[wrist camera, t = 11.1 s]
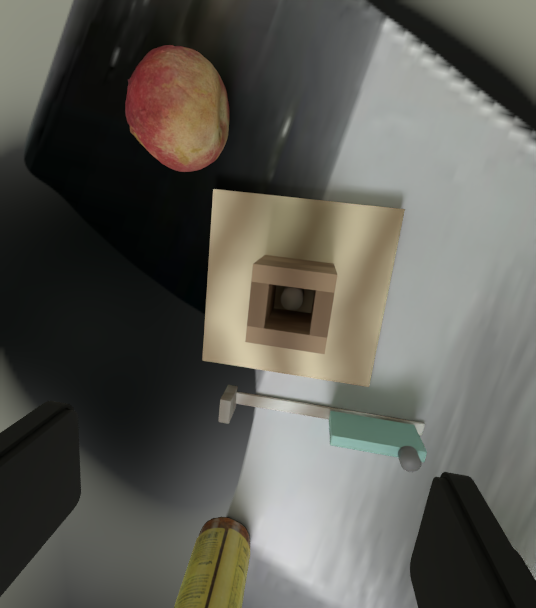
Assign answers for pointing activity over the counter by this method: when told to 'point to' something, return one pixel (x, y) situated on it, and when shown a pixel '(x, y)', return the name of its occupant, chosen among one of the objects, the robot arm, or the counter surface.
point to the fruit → (178, 108)
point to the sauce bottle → (217, 567)
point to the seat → (299, 289)
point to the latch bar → (378, 438)
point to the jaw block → (285, 323)
